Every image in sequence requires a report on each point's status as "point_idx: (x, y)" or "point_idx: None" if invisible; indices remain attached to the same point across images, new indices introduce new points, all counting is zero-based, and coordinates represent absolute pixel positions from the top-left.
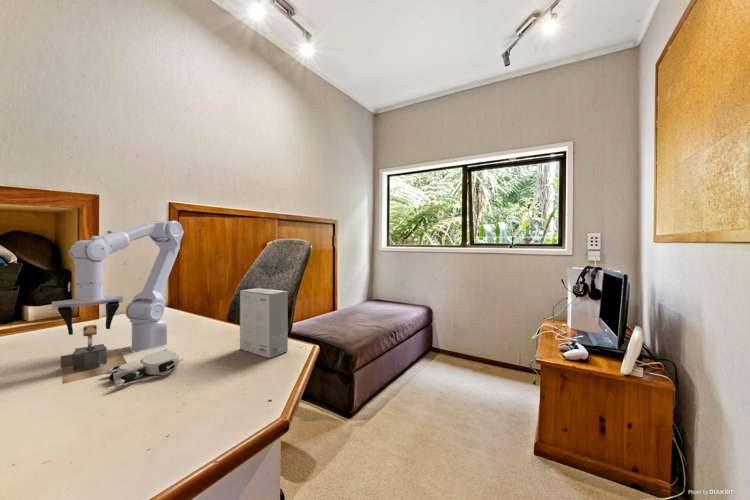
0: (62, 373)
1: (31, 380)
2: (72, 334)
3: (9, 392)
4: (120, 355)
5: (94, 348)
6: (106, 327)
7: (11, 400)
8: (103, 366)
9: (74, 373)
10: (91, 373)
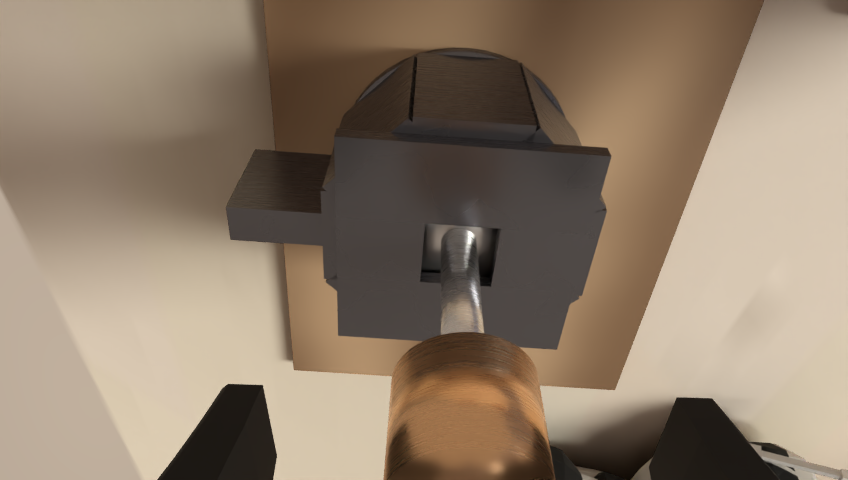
0: None
1: (104, 141)
2: (273, 456)
3: (54, 273)
4: (728, 45)
5: (495, 254)
6: (665, 459)
7: (111, 381)
8: None
9: None
10: None
